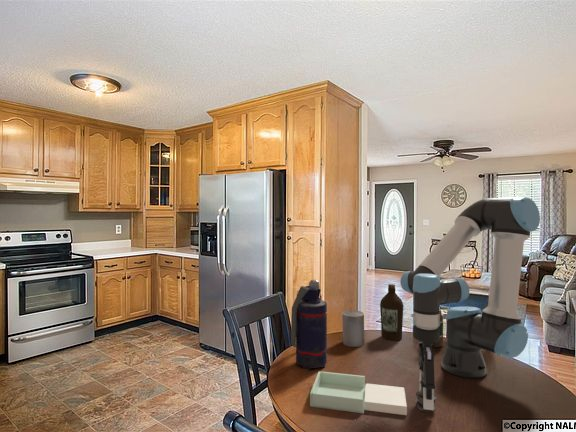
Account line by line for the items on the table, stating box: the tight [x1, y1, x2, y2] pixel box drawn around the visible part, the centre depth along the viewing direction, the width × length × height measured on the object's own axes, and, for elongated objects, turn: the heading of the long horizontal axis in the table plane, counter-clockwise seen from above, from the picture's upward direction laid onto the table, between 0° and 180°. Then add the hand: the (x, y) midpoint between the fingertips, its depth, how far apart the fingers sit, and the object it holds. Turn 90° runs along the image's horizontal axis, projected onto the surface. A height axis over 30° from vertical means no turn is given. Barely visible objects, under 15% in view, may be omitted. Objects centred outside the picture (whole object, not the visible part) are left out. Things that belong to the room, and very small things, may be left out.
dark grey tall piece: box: [415, 371, 438, 413], centre depth 109 cm, size 6×6×12 cm
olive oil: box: [379, 283, 404, 342], centre depth 171 cm, size 11×11×25 cm
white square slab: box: [364, 383, 408, 416], centre depth 112 cm, size 12×12×2 cm
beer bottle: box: [432, 311, 444, 348], centre depth 162 cm, size 8×8×24 cm
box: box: [309, 370, 366, 414], centre depth 116 cm, size 16×16×4 cm
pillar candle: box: [342, 309, 365, 348], centre depth 164 cm, size 10×10×15 cm
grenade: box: [290, 285, 328, 371], centre depth 140 cm, size 14×12×30 cm
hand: (426, 400), depth 109 cm, fingers open, 9 cm apart
